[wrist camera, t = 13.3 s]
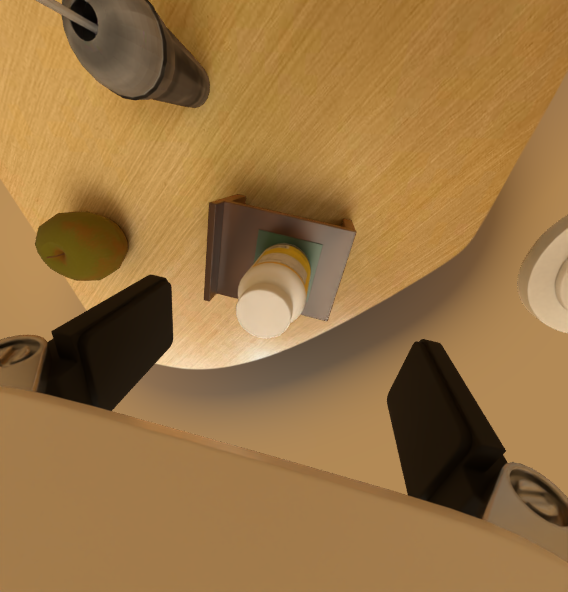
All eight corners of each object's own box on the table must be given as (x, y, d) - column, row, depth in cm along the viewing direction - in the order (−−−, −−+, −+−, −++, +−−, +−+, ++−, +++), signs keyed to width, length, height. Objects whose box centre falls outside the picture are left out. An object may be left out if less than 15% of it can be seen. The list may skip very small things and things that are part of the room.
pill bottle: (272, 298, 34) (247, 355, 23) (249, 253, 32) (210, 295, 21) (319, 281, 32) (314, 336, 21) (298, 232, 29) (280, 267, 19)
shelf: (351, 220, 35) (358, 237, 27) (327, 297, 41) (327, 331, 32) (237, 194, 36) (208, 202, 27) (229, 272, 41) (203, 300, 33)
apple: (75, 240, 43) (2, 261, 34) (93, 191, 39) (14, 200, 29) (127, 277, 45) (72, 308, 35) (150, 235, 41) (93, 256, 31)
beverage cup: (214, 130, 33) (78, 86, 15) (160, 109, 33) (-40, 40, 15) (226, 58, 30) (71, -107, 12) (166, 34, 29) (-81, -167, 12)
